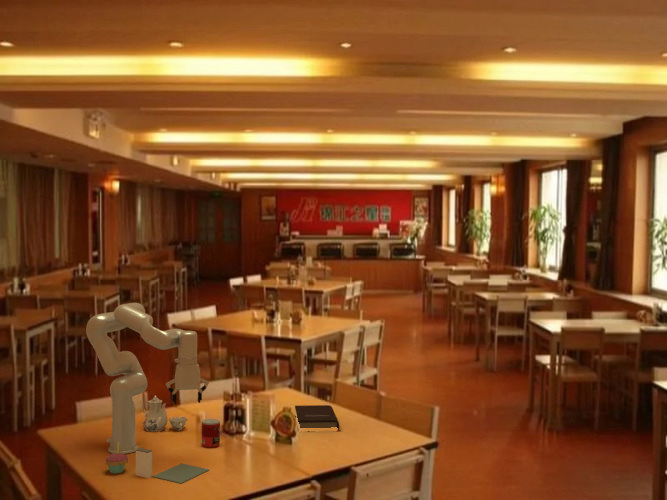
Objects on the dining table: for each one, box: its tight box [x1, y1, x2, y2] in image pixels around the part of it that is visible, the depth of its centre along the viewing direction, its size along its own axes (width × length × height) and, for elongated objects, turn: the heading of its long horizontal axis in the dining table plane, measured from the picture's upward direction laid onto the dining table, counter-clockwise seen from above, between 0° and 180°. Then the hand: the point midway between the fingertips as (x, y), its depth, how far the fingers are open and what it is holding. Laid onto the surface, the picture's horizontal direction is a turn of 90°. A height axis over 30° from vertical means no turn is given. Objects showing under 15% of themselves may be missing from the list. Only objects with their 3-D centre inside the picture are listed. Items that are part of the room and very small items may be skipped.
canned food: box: [201, 418, 221, 449], centre depth 311 cm, size 8×8×11 cm
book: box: [294, 404, 340, 429], centre depth 349 cm, size 28×20×6 cm
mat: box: [152, 463, 210, 485], centre depth 275 cm, size 14×17×1 cm
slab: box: [135, 447, 153, 479], centre depth 272 cm, size 6×3×10 cm, turn 62°
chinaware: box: [142, 395, 188, 433], centre depth 336 cm, size 28×17×17 cm, turn 57°
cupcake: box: [104, 440, 129, 475], centre depth 276 cm, size 9×8×12 cm
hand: (187, 402), depth 290 cm, fingers open, 9 cm apart
